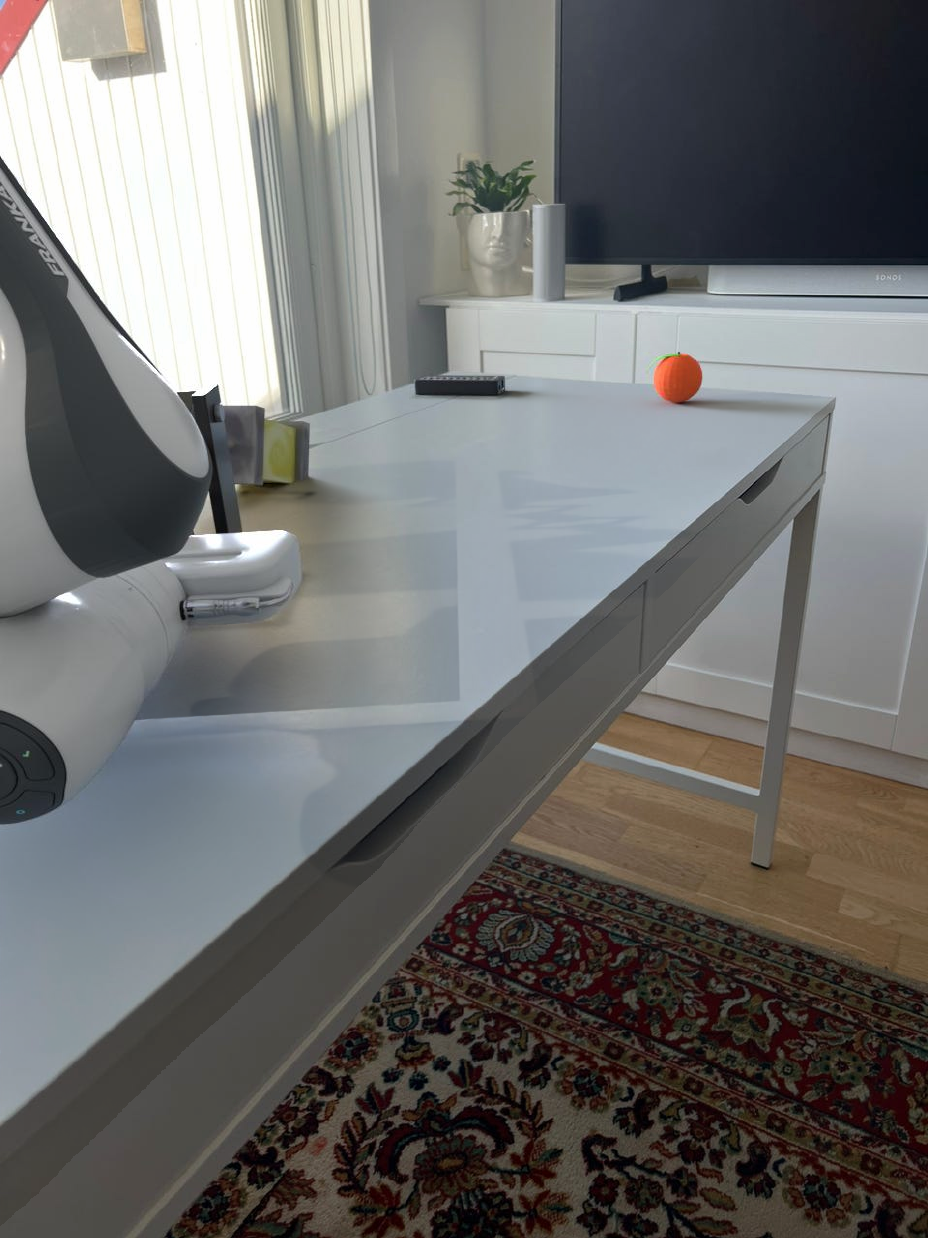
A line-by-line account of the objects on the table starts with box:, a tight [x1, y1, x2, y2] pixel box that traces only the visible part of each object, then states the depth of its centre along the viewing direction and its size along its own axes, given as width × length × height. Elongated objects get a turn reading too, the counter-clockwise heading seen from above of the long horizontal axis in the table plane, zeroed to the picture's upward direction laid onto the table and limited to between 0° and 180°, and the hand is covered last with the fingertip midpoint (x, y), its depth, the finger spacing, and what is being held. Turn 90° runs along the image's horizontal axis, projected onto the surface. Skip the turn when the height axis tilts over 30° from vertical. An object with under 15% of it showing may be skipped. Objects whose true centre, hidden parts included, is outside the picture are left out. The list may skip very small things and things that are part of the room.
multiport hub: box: [413, 374, 506, 396], centre depth 151 cm, size 4×14×2 cm, turn 69°
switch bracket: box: [191, 383, 244, 536], centre depth 73 cm, size 10×12×17 cm
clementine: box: [646, 351, 703, 404], centre depth 134 cm, size 8×7×7 cm
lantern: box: [223, 405, 311, 486], centre depth 91 cm, size 8×17×30 cm
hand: (170, 537), depth 66 cm, fingers closed
